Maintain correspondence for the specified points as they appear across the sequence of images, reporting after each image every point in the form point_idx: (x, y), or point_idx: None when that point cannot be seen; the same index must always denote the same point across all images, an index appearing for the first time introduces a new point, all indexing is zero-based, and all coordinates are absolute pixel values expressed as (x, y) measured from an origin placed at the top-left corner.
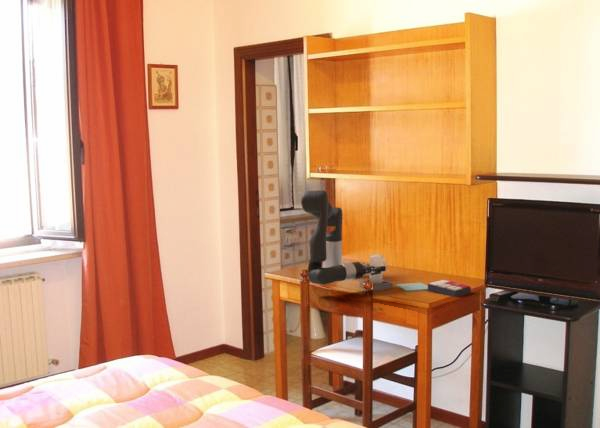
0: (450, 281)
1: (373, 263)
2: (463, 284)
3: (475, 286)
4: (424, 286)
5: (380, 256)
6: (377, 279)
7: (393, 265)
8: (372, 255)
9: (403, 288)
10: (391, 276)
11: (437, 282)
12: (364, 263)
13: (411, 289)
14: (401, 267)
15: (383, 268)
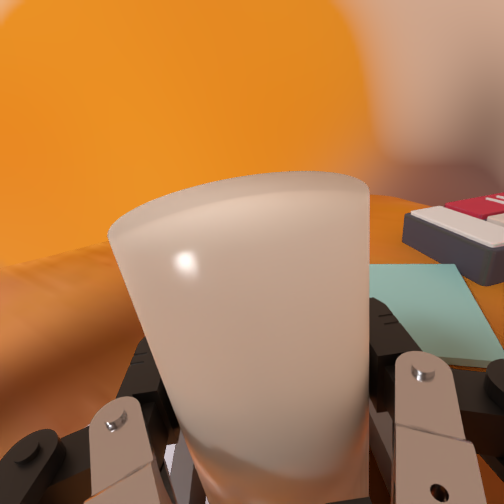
0: (449, 204)
1: (330, 367)
2: (498, 194)
3: (405, 200)
4: (400, 272)
5: (338, 180)
6: (367, 488)
7: (42, 259)
8: (174, 225)
9: (444, 356)
10: (129, 303)
11: (469, 225)
12: (37, 442)
13: (480, 330)
14: (80, 252)
15: (395, 325)
